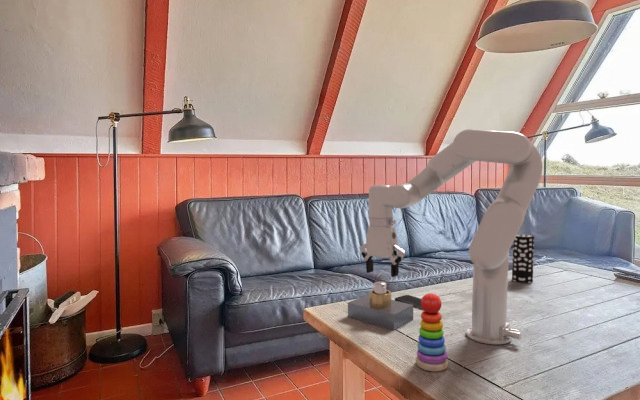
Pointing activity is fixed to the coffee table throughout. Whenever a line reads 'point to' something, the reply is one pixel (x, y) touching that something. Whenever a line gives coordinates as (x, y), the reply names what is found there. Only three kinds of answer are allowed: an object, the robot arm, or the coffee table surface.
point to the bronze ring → (380, 299)
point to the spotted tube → (523, 258)
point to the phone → (410, 300)
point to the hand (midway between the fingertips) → (382, 274)
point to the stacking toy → (431, 336)
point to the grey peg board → (380, 310)
